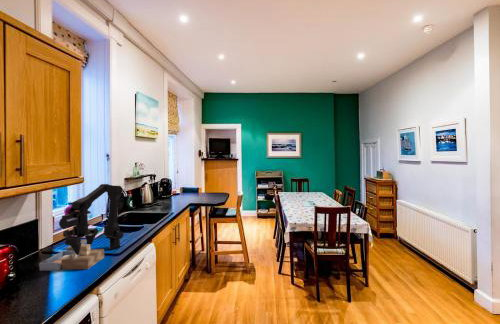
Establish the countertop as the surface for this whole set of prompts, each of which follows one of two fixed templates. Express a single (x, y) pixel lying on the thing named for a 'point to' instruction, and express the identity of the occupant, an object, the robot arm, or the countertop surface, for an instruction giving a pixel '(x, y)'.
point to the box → (50, 266)
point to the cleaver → (72, 248)
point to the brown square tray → (83, 260)
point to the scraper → (82, 251)
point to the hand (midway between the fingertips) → (83, 251)
